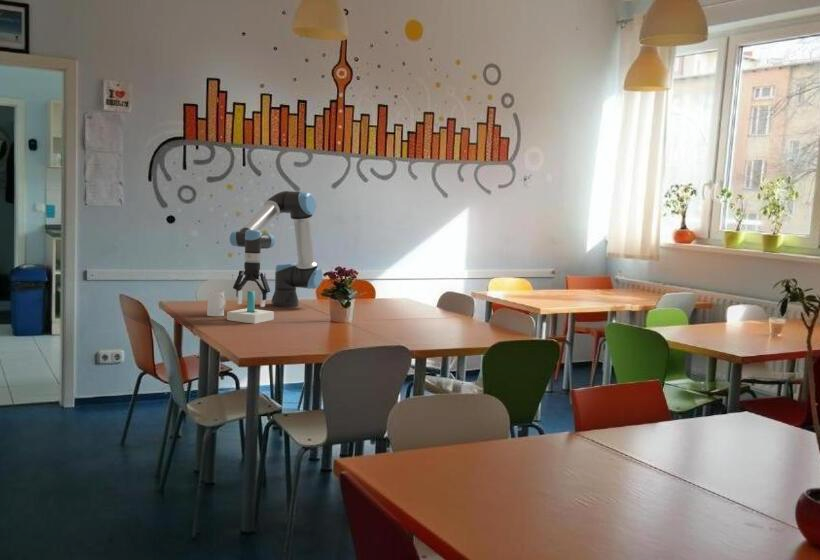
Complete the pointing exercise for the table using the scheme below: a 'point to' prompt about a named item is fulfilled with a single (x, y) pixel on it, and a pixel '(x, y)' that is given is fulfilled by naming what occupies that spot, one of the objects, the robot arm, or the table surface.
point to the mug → (216, 303)
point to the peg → (251, 302)
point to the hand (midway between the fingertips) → (251, 305)
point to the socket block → (250, 316)
